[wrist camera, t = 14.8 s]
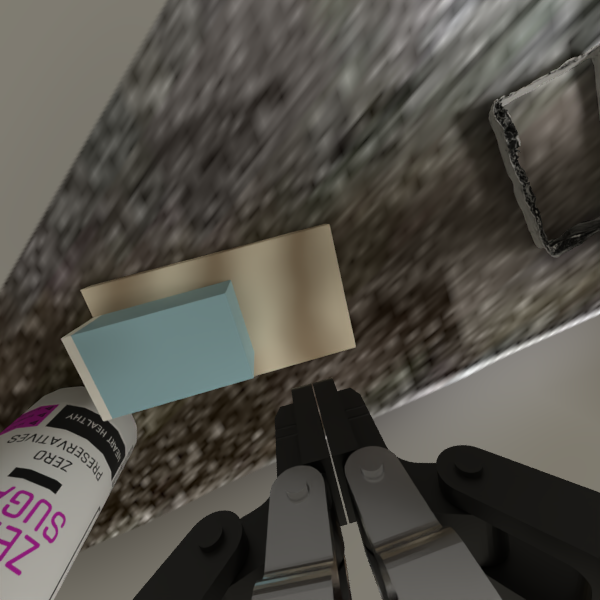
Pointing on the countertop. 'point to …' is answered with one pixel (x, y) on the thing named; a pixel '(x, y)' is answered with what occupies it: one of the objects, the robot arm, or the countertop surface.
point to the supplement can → (55, 487)
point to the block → (162, 350)
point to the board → (257, 294)
